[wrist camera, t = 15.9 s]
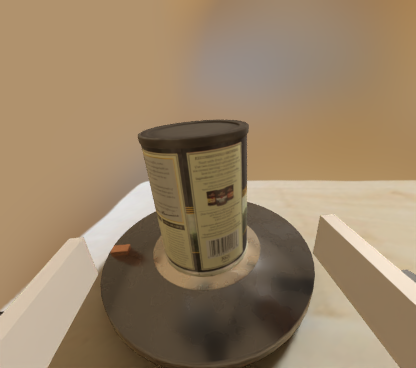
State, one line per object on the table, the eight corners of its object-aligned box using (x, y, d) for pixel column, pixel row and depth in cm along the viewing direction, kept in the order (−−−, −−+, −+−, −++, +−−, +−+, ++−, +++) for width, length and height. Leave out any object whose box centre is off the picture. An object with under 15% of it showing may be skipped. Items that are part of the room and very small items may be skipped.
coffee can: (201, 212, 31) (191, 119, 25) (262, 235, 25) (267, 119, 19) (146, 251, 24) (115, 134, 18) (212, 297, 18) (197, 142, 12)
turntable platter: (267, 200, 37) (268, 189, 36) (377, 353, 15) (386, 336, 14) (137, 211, 36) (135, 201, 35) (48, 392, 14) (35, 377, 13)
